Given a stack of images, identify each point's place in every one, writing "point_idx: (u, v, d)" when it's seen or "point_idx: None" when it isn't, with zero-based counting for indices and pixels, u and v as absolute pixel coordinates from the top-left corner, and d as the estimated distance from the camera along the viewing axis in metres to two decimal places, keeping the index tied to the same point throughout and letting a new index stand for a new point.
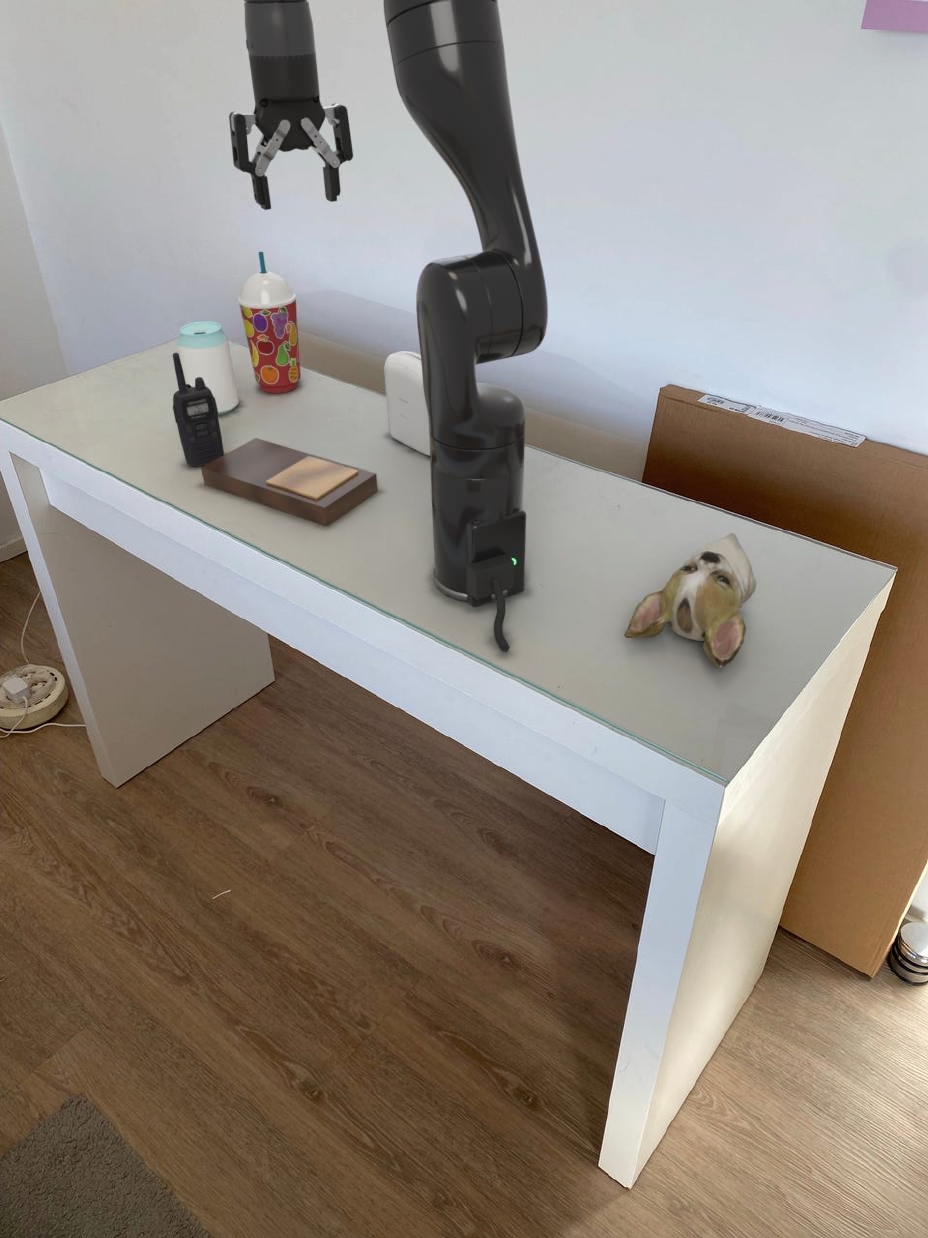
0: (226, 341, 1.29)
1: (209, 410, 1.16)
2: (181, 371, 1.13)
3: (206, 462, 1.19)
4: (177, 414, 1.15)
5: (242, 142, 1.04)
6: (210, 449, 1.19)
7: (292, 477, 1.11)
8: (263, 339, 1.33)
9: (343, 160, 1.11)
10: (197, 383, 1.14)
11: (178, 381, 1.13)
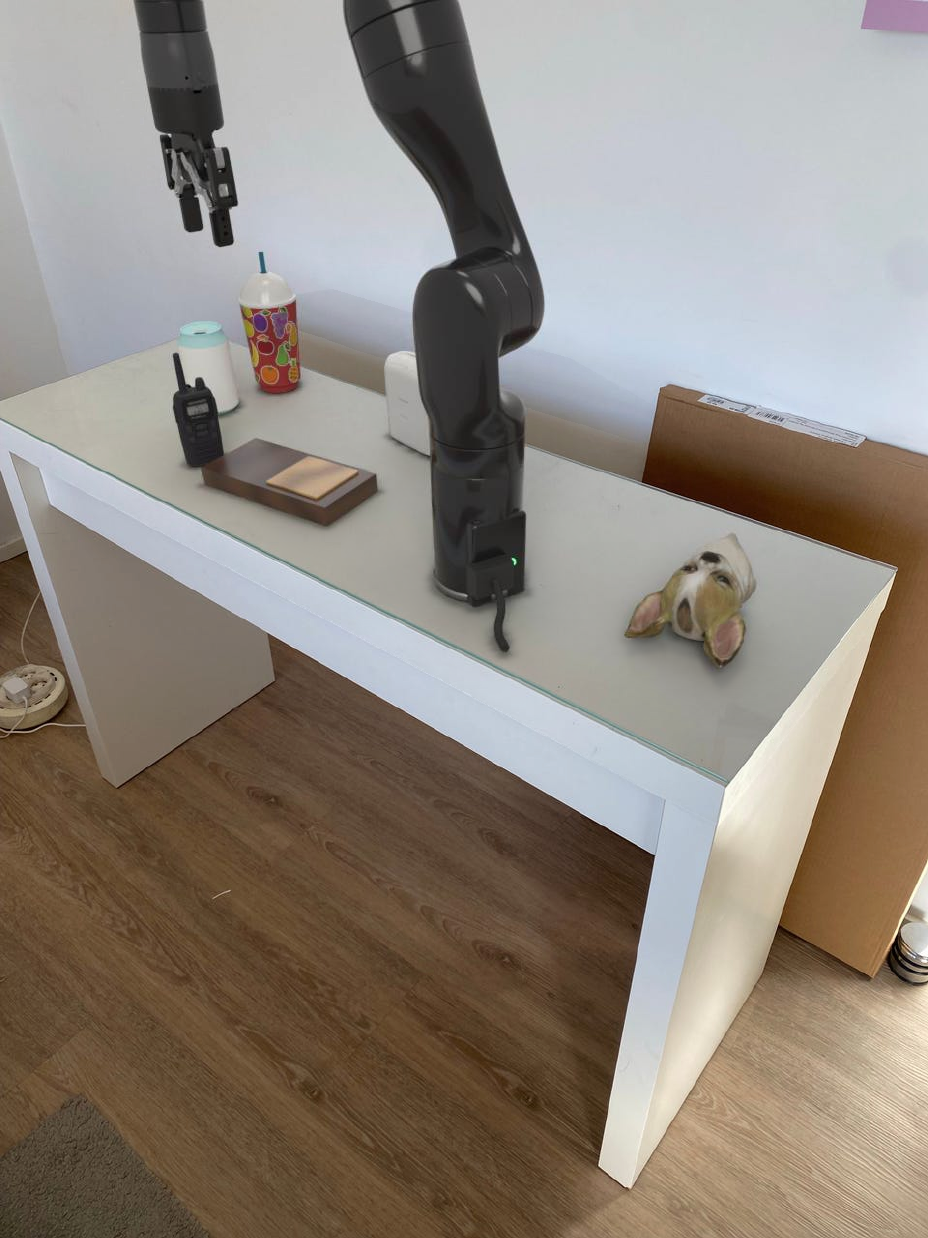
0: (226, 341, 1.29)
1: (209, 410, 1.16)
2: (181, 371, 1.13)
3: (206, 462, 1.19)
4: (177, 414, 1.15)
5: (165, 161, 1.07)
6: (210, 449, 1.19)
7: (292, 477, 1.11)
8: (263, 339, 1.33)
9: None
10: (197, 383, 1.14)
11: (178, 381, 1.13)
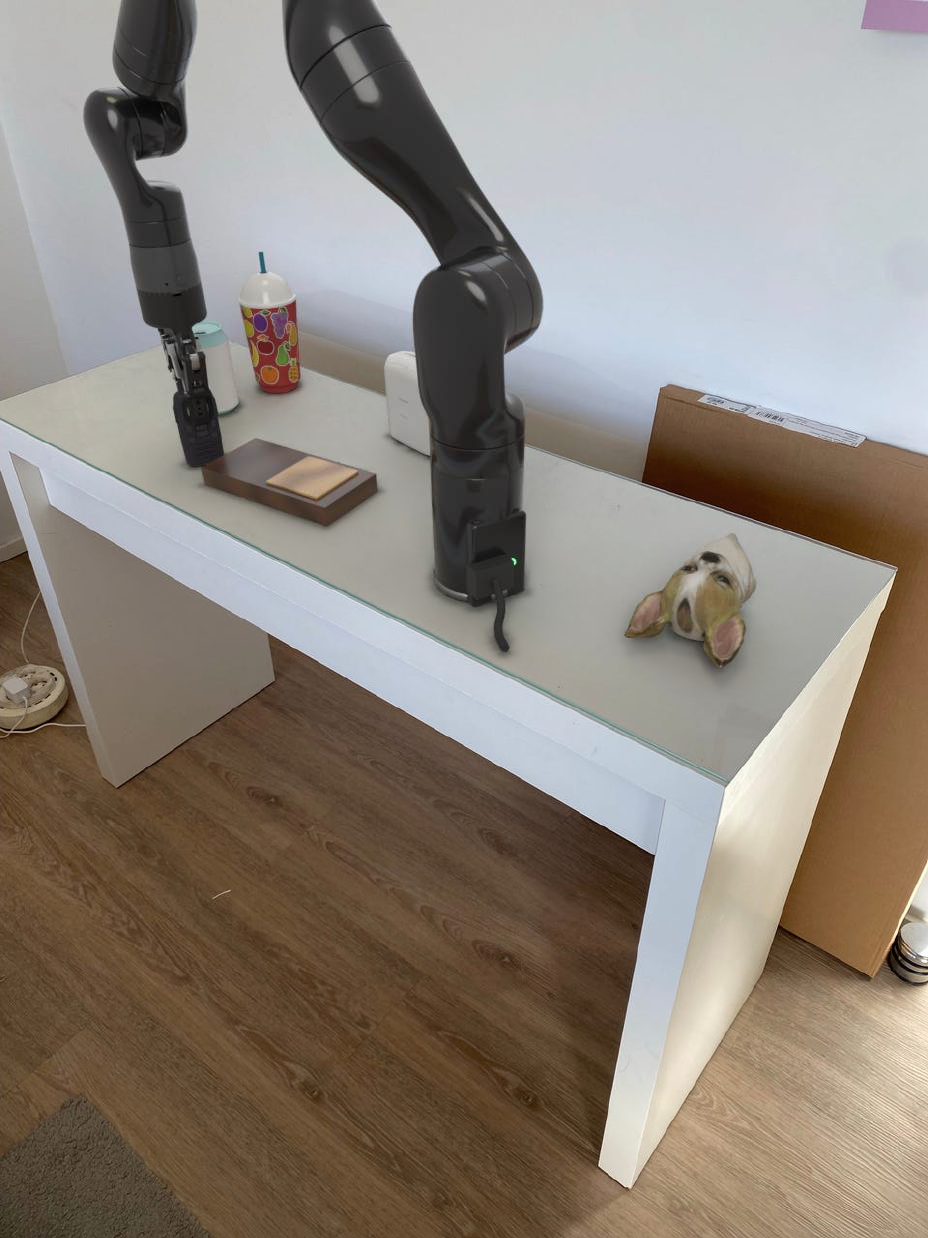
0: (226, 341, 1.29)
1: (209, 410, 1.16)
2: None
3: (206, 462, 1.19)
4: (177, 414, 1.15)
5: (164, 348, 1.17)
6: (210, 449, 1.19)
7: (292, 477, 1.11)
8: (263, 339, 1.33)
9: None
10: (197, 383, 1.14)
11: (178, 381, 1.13)
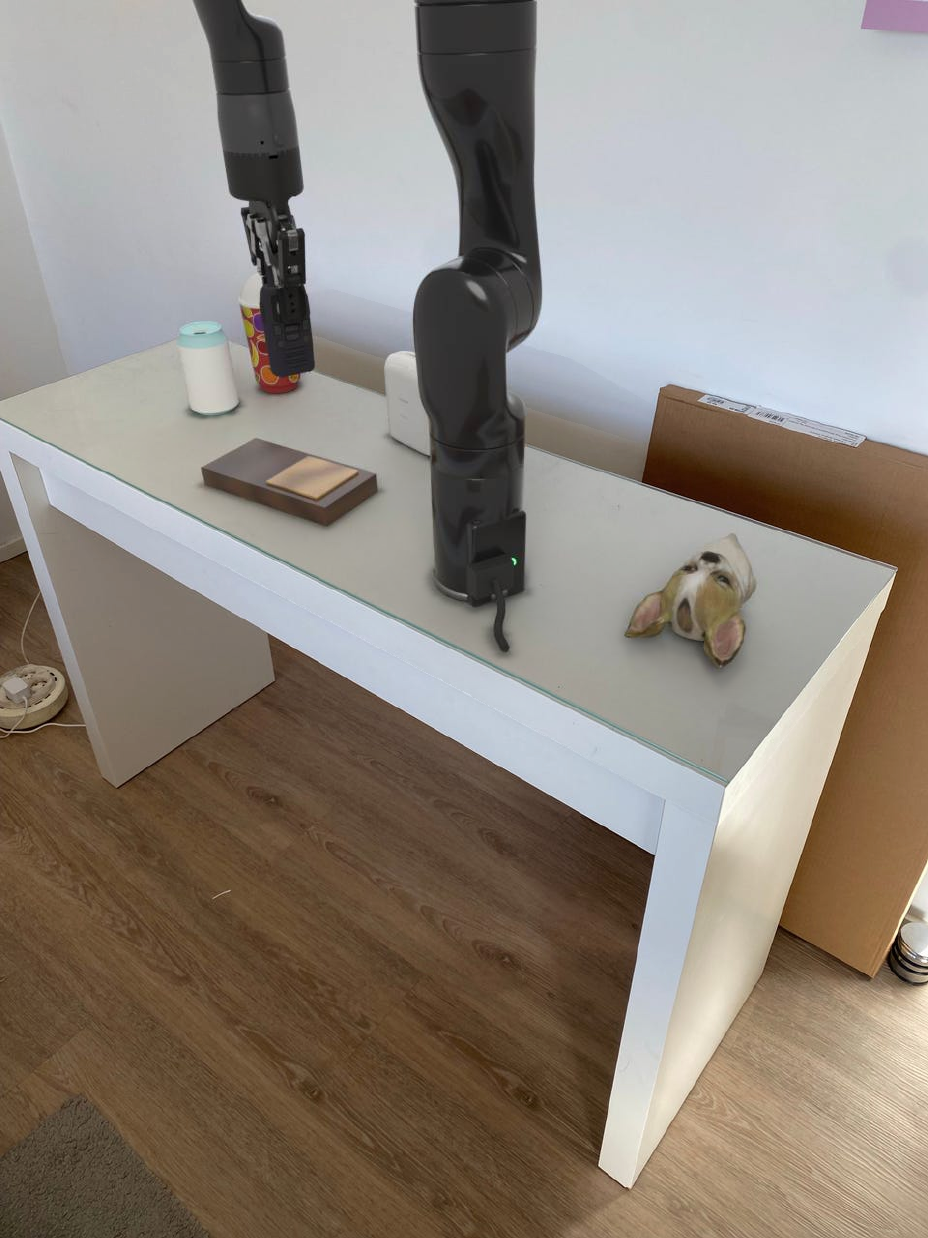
0: (226, 341, 1.29)
1: (301, 308, 0.99)
2: None
3: (295, 372, 1.02)
4: (265, 312, 0.97)
5: (247, 236, 0.99)
6: (300, 356, 1.01)
7: (292, 477, 1.11)
8: (263, 339, 1.33)
9: None
10: None
11: (267, 271, 0.96)
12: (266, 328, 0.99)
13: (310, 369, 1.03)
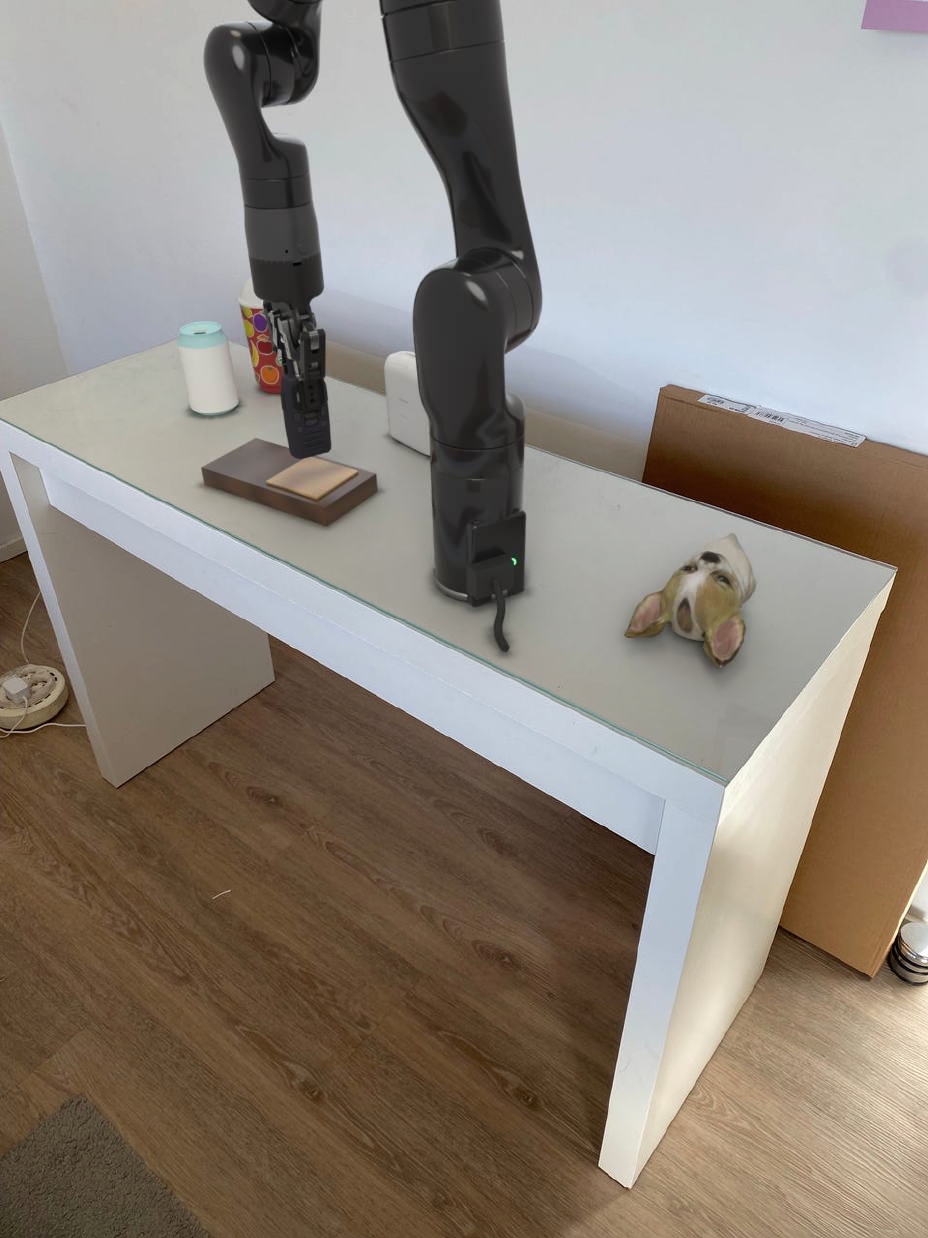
0: (226, 341, 1.29)
1: None
2: None
3: (313, 454, 1.07)
4: (285, 400, 1.03)
5: (269, 326, 1.04)
6: (318, 440, 1.06)
7: (292, 477, 1.11)
8: (263, 339, 1.33)
9: None
10: None
11: (288, 363, 1.01)
12: (286, 415, 1.04)
13: (327, 451, 1.08)
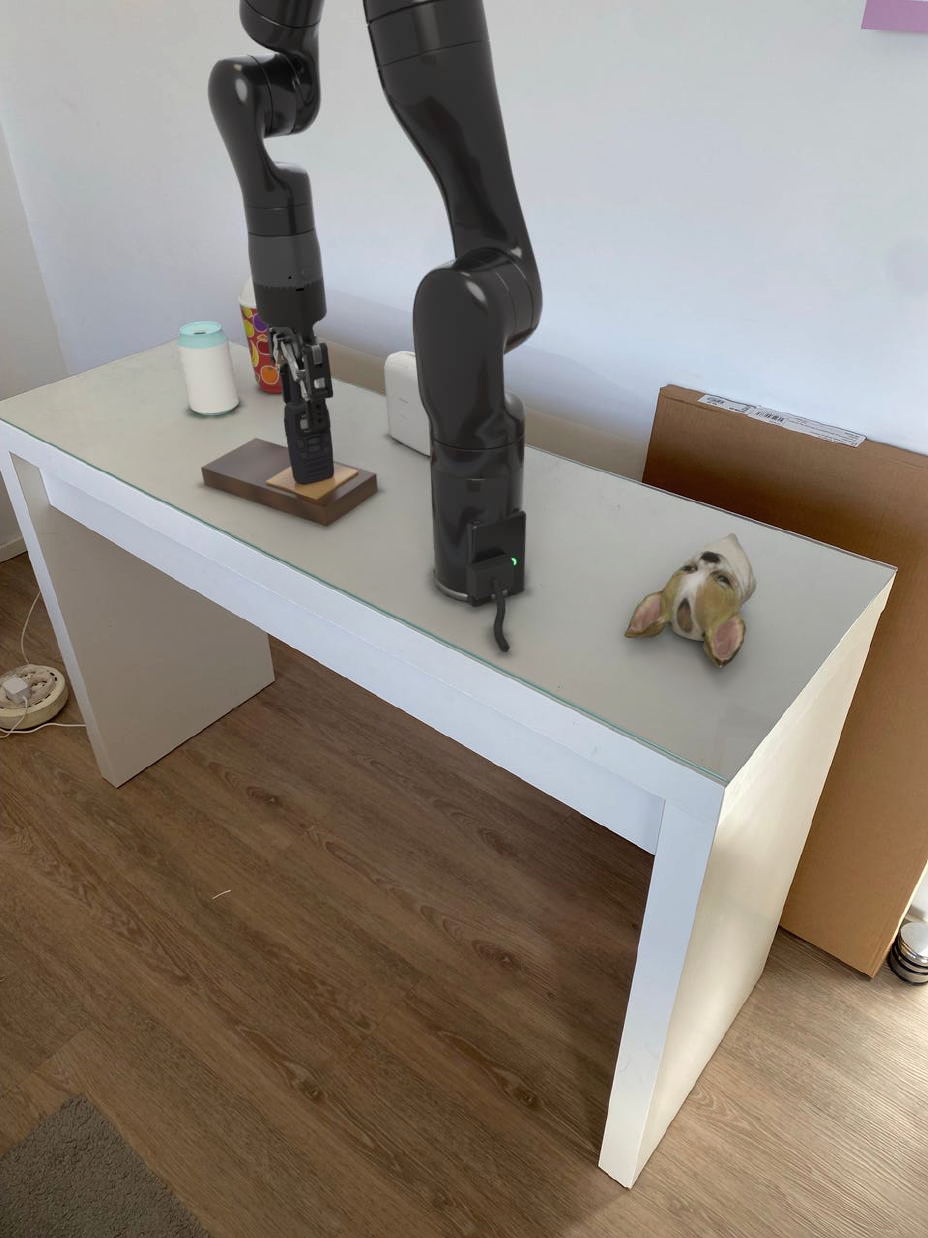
0: (226, 341, 1.29)
1: None
2: None
3: (316, 479, 1.09)
4: (289, 427, 1.05)
5: (269, 338, 1.06)
6: (321, 465, 1.08)
7: (292, 477, 1.11)
8: (263, 339, 1.33)
9: None
10: None
11: (292, 391, 1.03)
12: (290, 441, 1.06)
13: (330, 476, 1.10)
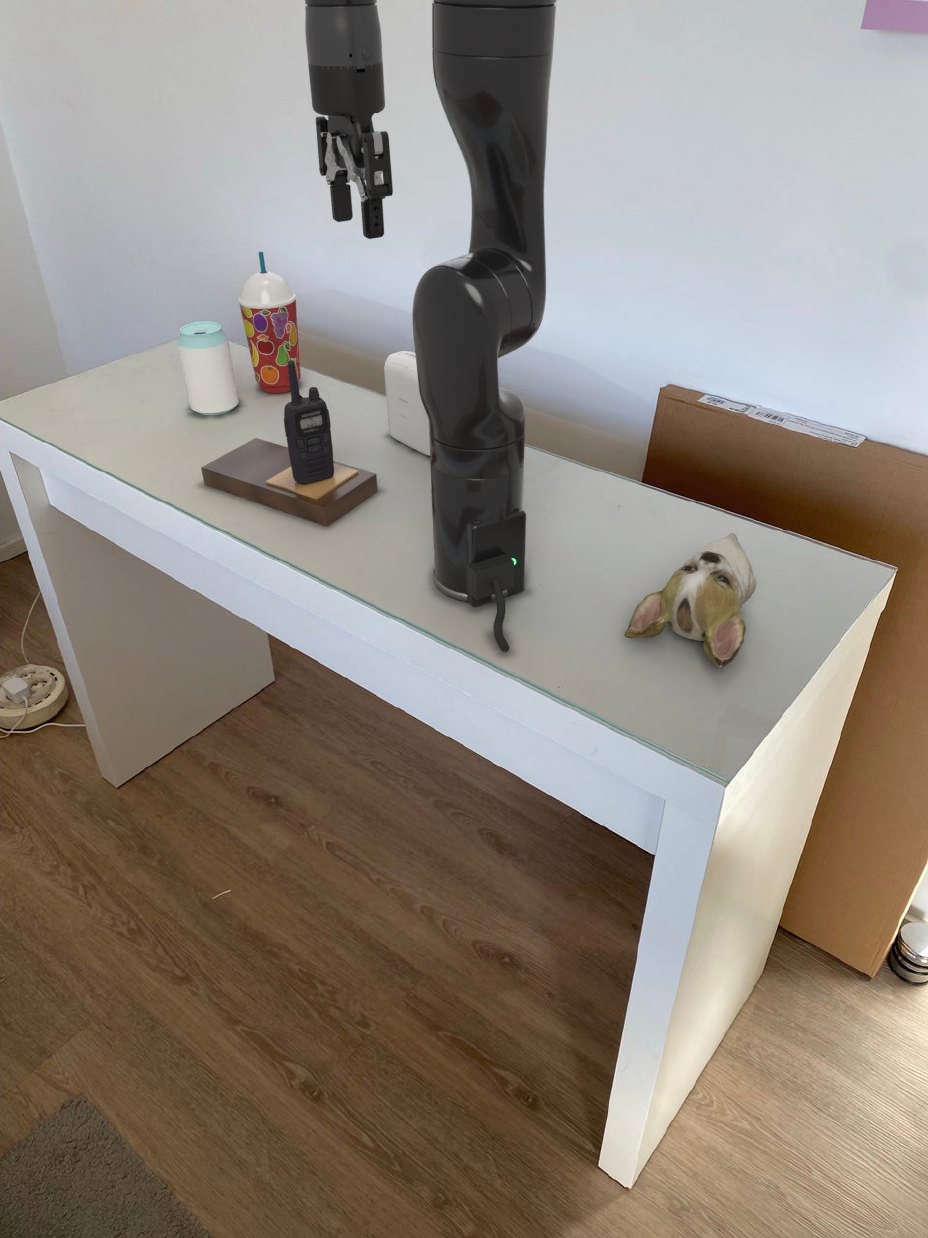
0: (226, 341, 1.29)
1: (322, 423, 1.06)
2: (296, 380, 1.02)
3: (316, 479, 1.09)
4: (289, 427, 1.05)
5: (319, 145, 1.01)
6: (321, 465, 1.08)
7: (292, 477, 1.11)
8: (263, 339, 1.33)
9: None
10: (311, 393, 1.04)
11: (292, 391, 1.03)
12: (290, 441, 1.06)
13: (330, 476, 1.10)
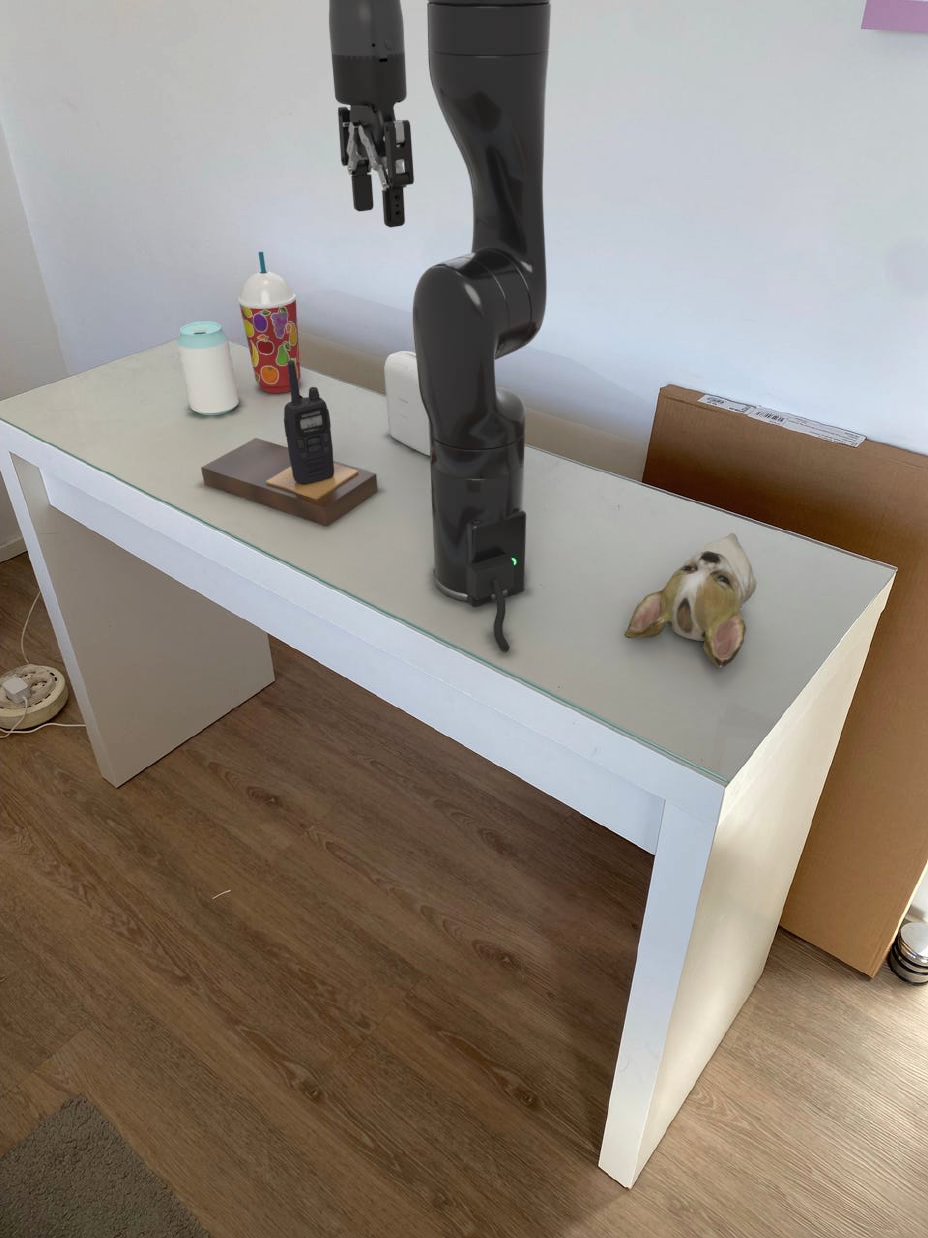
0: (226, 341, 1.29)
1: (322, 423, 1.06)
2: (296, 380, 1.02)
3: (316, 479, 1.09)
4: (289, 427, 1.05)
5: (341, 136, 1.02)
6: (321, 465, 1.08)
7: (292, 477, 1.11)
8: (263, 339, 1.33)
9: None
10: (311, 393, 1.04)
11: (292, 391, 1.03)
12: (290, 441, 1.06)
13: (330, 476, 1.10)
